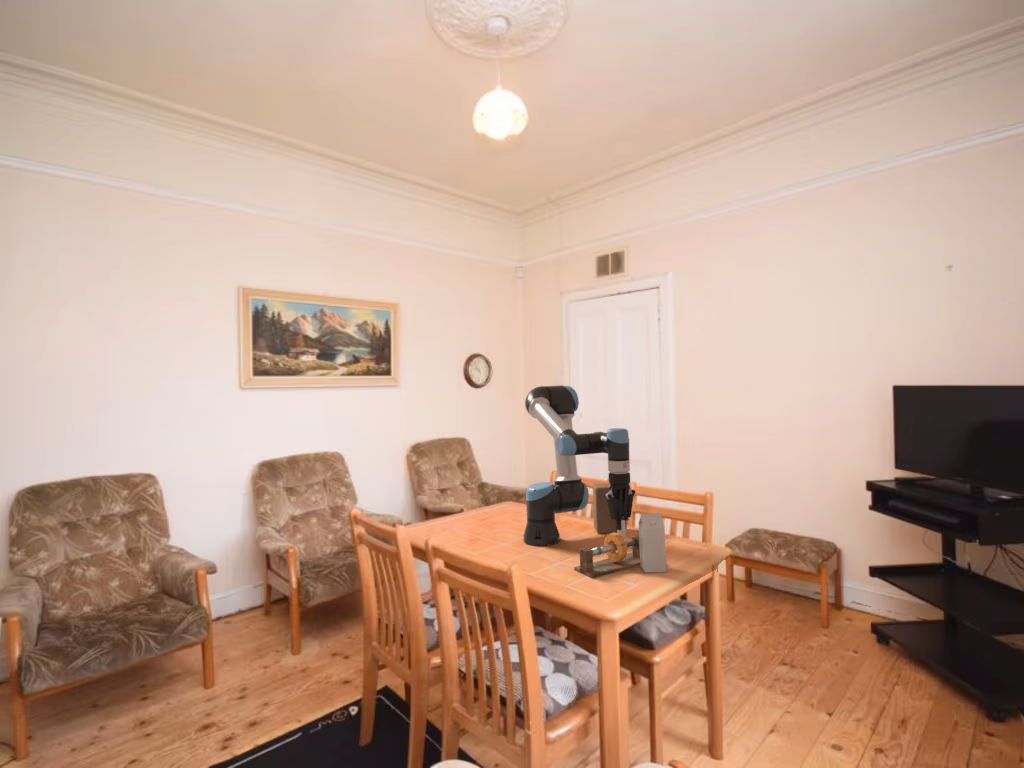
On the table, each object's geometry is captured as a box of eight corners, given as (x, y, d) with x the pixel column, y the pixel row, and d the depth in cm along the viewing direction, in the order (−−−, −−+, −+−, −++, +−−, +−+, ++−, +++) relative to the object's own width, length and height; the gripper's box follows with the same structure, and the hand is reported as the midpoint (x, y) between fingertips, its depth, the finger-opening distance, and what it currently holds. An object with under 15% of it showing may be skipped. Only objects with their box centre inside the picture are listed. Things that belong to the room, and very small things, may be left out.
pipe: (583, 556, 175) (583, 549, 175) (635, 544, 187) (635, 537, 187) (588, 558, 172) (588, 551, 172) (641, 545, 184) (640, 538, 185)
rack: (574, 570, 177) (573, 546, 177) (632, 555, 191) (631, 533, 191) (592, 578, 168) (592, 554, 168) (652, 562, 182) (651, 539, 182)
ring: (604, 557, 183) (603, 531, 184) (609, 556, 185) (608, 530, 185) (622, 564, 175) (621, 537, 176) (627, 563, 177) (626, 536, 177)
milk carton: (640, 566, 179) (638, 511, 179) (660, 565, 179) (658, 510, 179) (644, 573, 172) (642, 516, 172) (666, 572, 171) (664, 515, 172)
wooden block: (620, 533, 220) (618, 486, 220) (597, 534, 220) (595, 487, 220) (616, 527, 230) (614, 482, 230) (593, 528, 230) (592, 483, 230)
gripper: (612, 475, 176) (615, 544, 175) (640, 471, 182) (642, 537, 182) (598, 472, 182) (600, 539, 182) (625, 468, 189) (627, 533, 188)
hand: (621, 538), depth 182 cm, fingers closed
